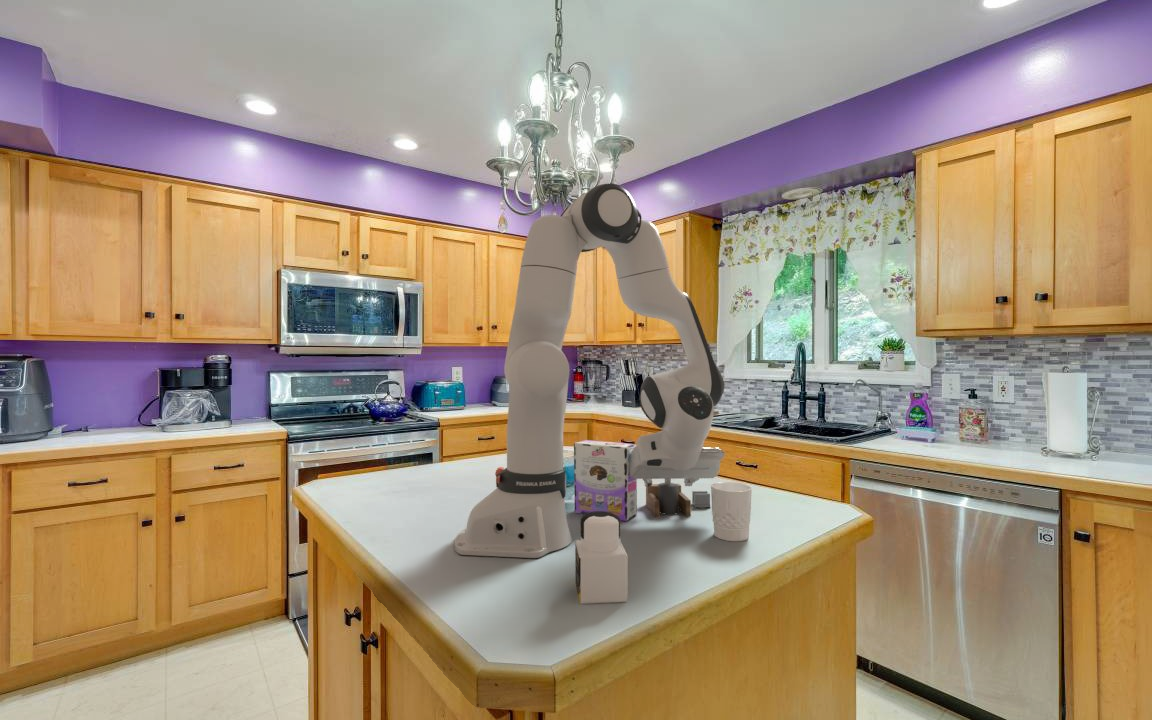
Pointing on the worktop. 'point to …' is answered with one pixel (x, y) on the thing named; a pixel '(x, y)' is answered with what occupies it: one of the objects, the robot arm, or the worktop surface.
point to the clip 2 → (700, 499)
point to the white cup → (731, 510)
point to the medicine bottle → (600, 560)
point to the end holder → (654, 502)
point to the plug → (668, 497)
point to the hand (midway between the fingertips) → (667, 483)
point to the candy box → (604, 478)
